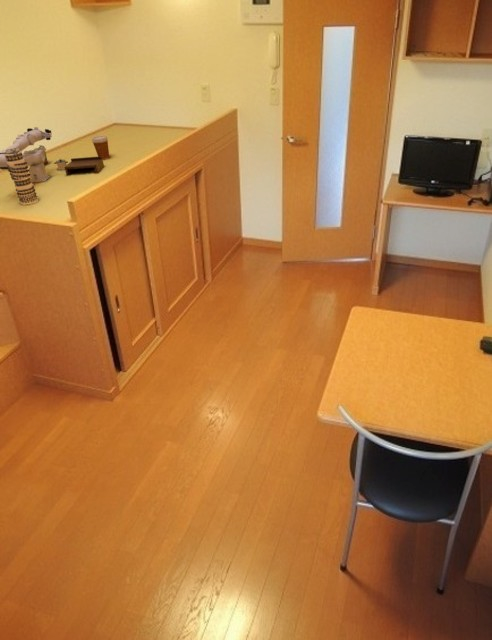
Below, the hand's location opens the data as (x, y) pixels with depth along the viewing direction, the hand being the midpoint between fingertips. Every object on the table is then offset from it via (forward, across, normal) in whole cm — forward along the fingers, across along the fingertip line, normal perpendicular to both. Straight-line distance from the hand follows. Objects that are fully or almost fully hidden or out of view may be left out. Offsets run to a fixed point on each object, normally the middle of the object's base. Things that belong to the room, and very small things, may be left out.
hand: (44, 131), depth 274 cm
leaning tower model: (-54, -12, +23) cm, 60 cm away
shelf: (-8, -24, +18) cm, 31 cm away
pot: (0, -8, +20) cm, 21 cm away
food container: (+11, +8, +21) cm, 25 cm away
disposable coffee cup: (+17, -27, +17) cm, 36 cm away
